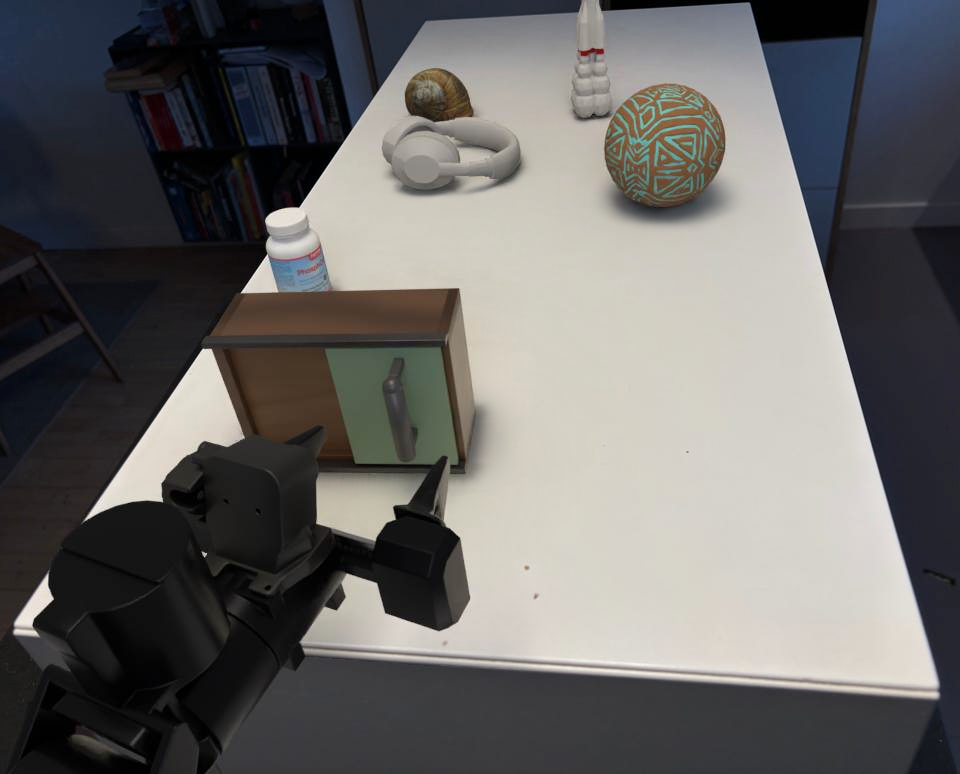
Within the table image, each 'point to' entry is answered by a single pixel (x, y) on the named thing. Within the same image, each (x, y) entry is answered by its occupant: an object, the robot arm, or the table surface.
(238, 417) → the cupboard
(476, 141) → the headphones
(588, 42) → the rocket model
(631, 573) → the table surface
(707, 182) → the decorative sphere
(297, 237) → the pill bottle
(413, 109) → the seashell
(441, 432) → the sliding door
